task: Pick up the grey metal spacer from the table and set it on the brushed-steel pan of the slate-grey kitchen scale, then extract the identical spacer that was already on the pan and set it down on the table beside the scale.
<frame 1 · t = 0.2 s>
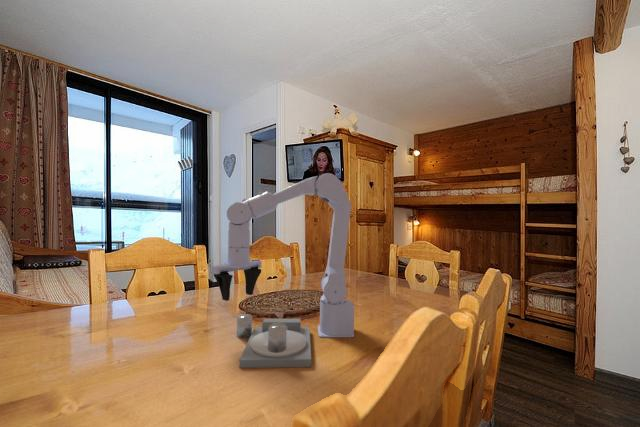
hand: (237, 297, 79), 10 cm above the table, fingers open, 7 cm apart
spacer a: (244, 335, 78), on the table
spacer b: (277, 348, 64), point 3 cm above the table, touching scale
scale: (279, 347, 71), on the table
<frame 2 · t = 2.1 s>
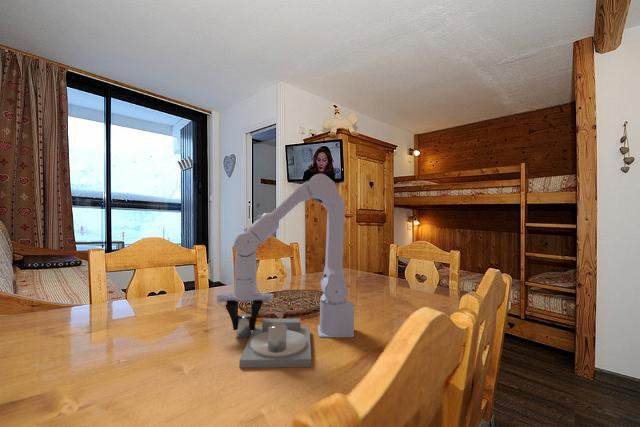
hand: (244, 328, 78), 2 cm above the table, fingers closed on spacer a, 4 cm apart
spacer a: (244, 335, 78), on the table, touching gripper
everything else where it was.
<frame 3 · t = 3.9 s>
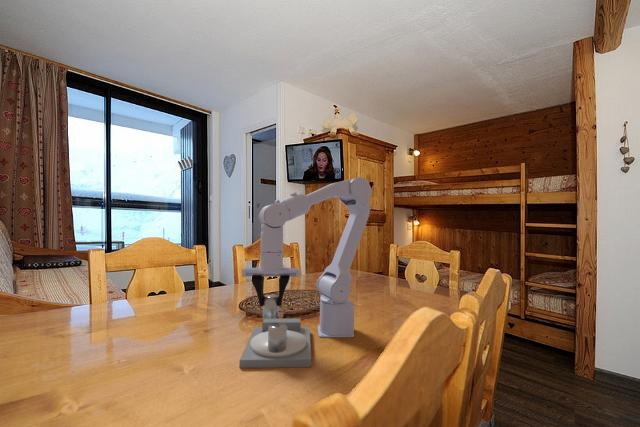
hand: (270, 305, 74), 9 cm above the table, fingers closed on spacer a, 4 cm apart
spacer a: (270, 316, 74), point 6 cm above the table, touching gripper
everything else where it was.
when the fingers open (5 cm above the table, at t = 5.6 s): spacer a stays where it is, resting on scale.
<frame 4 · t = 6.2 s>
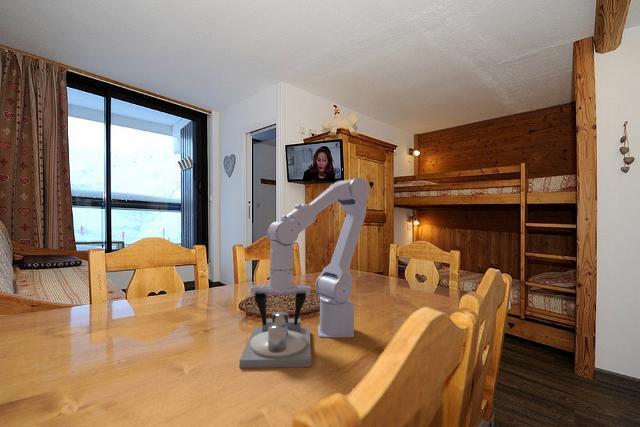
hand: (280, 323, 72), 5 cm above the table, fingers open, 7 cm apart
spacer a: (279, 334, 72), point 3 cm above the table, touching scale
everything else where it was.
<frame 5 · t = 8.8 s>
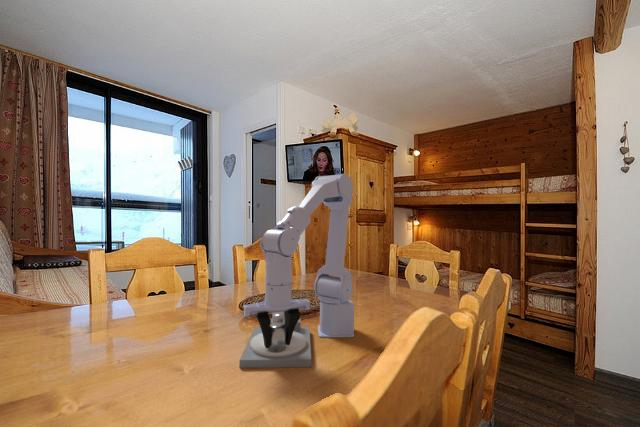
hand: (277, 344, 64), 3 cm above the table, fingers closed on spacer b, 4 cm apart
spacer b: (277, 348, 64), point 3 cm above the table, touching gripper, scale
everything else where it was.
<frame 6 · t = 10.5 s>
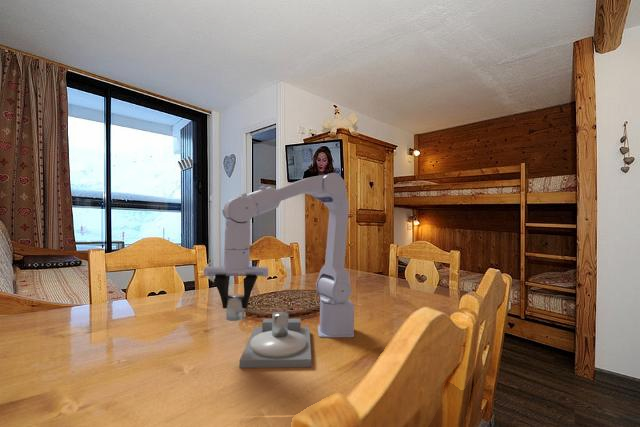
hand: (235, 307, 68), 10 cm above the table, fingers closed on spacer b, 4 cm apart
spacer b: (235, 317, 68), point 8 cm above the table, touching gripper
everything else where it was.
when the fingers open (2 cm above the table, at t = 12.6 s): spacer b stays where it is, on the table.
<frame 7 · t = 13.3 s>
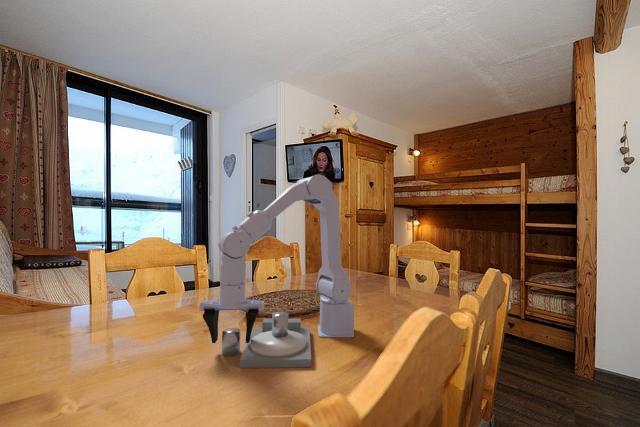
hand: (231, 341, 68), 2 cm above the table, fingers open, 7 cm apart
spacer b: (230, 352, 68), on the table
everything else where it was.
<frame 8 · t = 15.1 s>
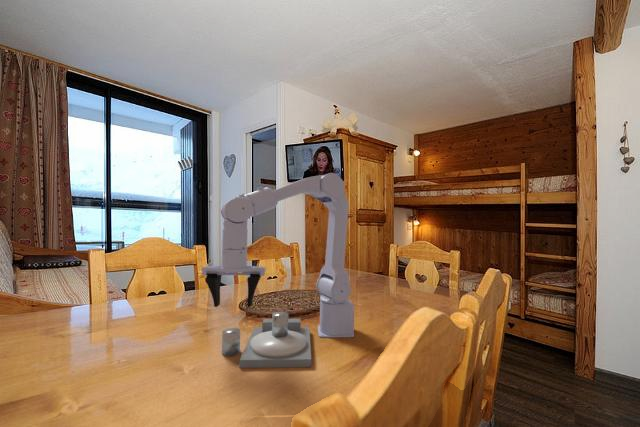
hand: (233, 305, 69), 10 cm above the table, fingers open, 7 cm apart
nothing on the table moved.
at the end: spacer a inside the target area on the scale (3.6 cm from its centre), point 2.6 cm above the scale's base; spacer b inside the target area (0.3 cm from its centre), on the table; spacer b touching table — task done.
